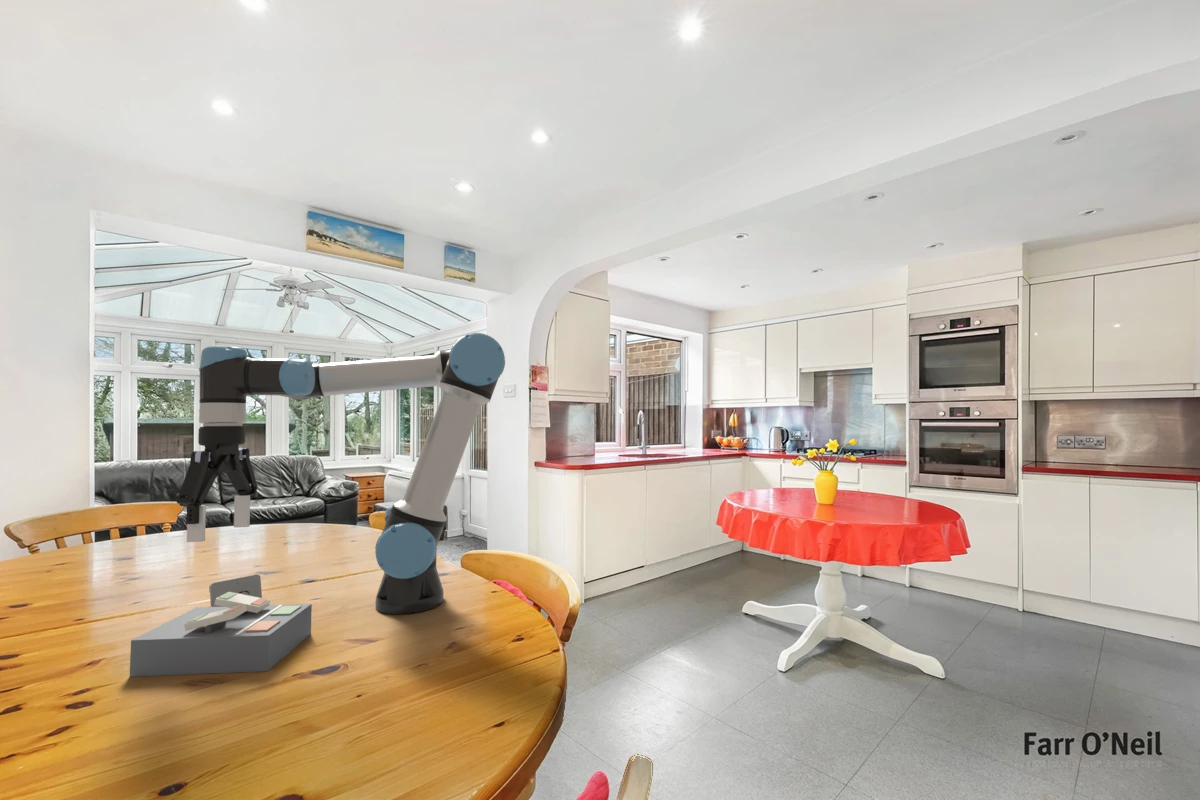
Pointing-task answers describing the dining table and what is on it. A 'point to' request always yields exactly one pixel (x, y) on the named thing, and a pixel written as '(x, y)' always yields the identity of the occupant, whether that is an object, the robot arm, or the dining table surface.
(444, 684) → the dining table surface
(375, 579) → the dining table surface
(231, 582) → the electrical switch
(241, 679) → the dining table surface
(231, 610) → the rocker
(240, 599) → the rocker
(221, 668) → the console
